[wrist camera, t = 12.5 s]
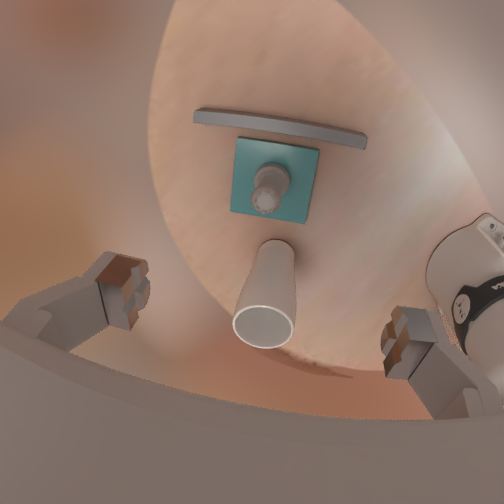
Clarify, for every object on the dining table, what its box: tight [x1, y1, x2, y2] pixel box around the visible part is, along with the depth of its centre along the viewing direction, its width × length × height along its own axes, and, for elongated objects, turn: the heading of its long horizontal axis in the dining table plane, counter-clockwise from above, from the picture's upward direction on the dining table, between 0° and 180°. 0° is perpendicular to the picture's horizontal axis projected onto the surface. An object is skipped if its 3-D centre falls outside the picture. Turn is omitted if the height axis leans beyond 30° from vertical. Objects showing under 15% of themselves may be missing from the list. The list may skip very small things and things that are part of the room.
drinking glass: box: [233, 240, 296, 348], centre depth 39 cm, size 7×7×15 cm
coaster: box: [230, 137, 319, 224], centre depth 39 cm, size 10×10×1 cm
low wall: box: [193, 108, 368, 150], centre depth 35 cm, size 20×2×3 cm, turn 84°
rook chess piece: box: [250, 163, 290, 215], centre depth 35 cm, size 4×4×8 cm
